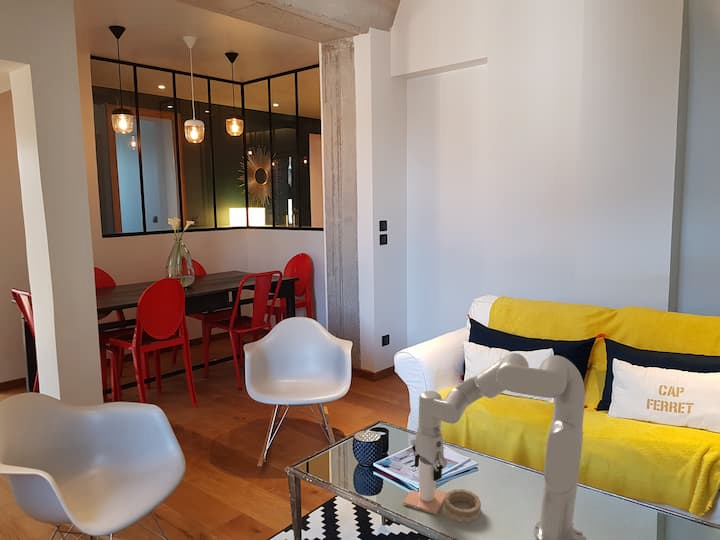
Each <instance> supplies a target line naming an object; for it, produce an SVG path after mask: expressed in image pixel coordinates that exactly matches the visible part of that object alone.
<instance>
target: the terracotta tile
mask: <svg viewBox="0 0 720 540" xmlns="http://www.w3.org/2000/svg"><path fill="white" fill-rule="evenodd" d="M447 493H448V492H447V491H444V490H440V489H437V488H435V497H434V499H433V500H432V501H429V502H426V501H423V500H421V499H420V497H419V492H416V491H414V490H411V489H410V491H409V492H408V493H407V495H406V497H405V499H404V500H403V503H402V504H406V505H410V506H412V507H411V508H413V507H416V508H418V509H417V510H419V509H421V510H420V511H422V510H424V512H426V513H429V512H430V514H432V513H433V514H432V515H435V514H436V515H438V513H439V512H440V509H441V507H442V506H443V505H444V498H445V496H446V494H447ZM406 505H405V506H406ZM416 508H415V509H416Z"/></svg>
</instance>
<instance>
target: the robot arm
mask: <svg viewBox="0 0 720 540" xmlns="http://www.w3.org/2000/svg"><path fill="white" fill-rule="evenodd" d="M529 365H530V364H529V363H528V361H527V358H526V357H524V355H522V354H520V353H516V352H513V353H512V352H511V353H509V354H507V355H505V356H504V357H502V358H500V359H499V360H498V361H496V362H494V363H493V364H492V365H490V366H489V367H487V368H486V369H484V370H483V371H481V372H480V373H478V374H477V375H474V376H472V377H470V378H468V379H466V380H464V381H463V382H461V383H460V384H458V385H457V386H455V387H454V388H452V389H451V390H450V391H449V392H448V393H447V394H446V396H445V398H443V396H442V395H441V393H439V392H438V391H433V390H425V391H423V392H421V393H420V395H419V397H418V398H419V399H418V421H417V422H418V424H417V425H418V427H417V430H416V434H415V438H414V439H411V440H410V443H411V449H412V451H413V456H414V467H415V468H418V466H419V458H420V456H421V457H423V458H424V459H426V460H427V461H429V462H430V463H432V464H433V466H434V468H435V470H434V475H433V480H434V481H436V482H437V481H439V480H441V479H442V474H443V472H442V471H443V470H444V468H446V467H447V465H448V461H447V460H446V458H445V457H444V456H445V453H444V449H445V448H444V439H443V433H442V430H441V427H442V422H444V423H447V424H450V425H453V424H456V423H458V422H459V421H460V420H461V419H462V417H463V415H464V413H465V411H466V409H467V408H468V407H469V406H470V405H472V404H473V403H475V402H476V401H478V400H479V399H481V398H483V397H484V398H488V399H494V398H496V397H497V396H499V395H500V394H502V393H503V392H505V391H507V392H510V393H515V394H521V395H527V396H532V397H533V396H534V397H540V398H545V399H554V401H553V414H552V420H551V424H550V426H549V430H548V435H547V439H546V440H547V441H546V449H545V458H544V469H543V470H544V471H543V477H544V486H543V492H542V493H543V494H542V501H541V511H540V521H538V522H537V523H536V524H535V525H534V528H533V533H534V536H535V538H536V539H537V540H587V536H585V535H583V533H584V531H582V530H578V529H576V528H574V522H573V521H574V512H575V506H576V505H575V504H576V498H577V491H578V484H579V483H578V482H579V476H580V467H581V461H582V460H581V458H582V452H583V451H582V450H583V439H584V430H583V428H584V426H583V425H584V416H585V415H584V414H585V400H586V399H585V398H586V390H585V383H584V379H583V376H582V375H581V372H580V371H579V369H578V368H577V367H576V365H575V364H574V363H573V362H572V361H571V360H569V359H568V358H566V357H565V356H561V355H556V354H555V355H550V356H547V357H545V359H543V361H542V362H541V364H540V366H539V368H534V367H530V366H529ZM436 459H437V461H436ZM437 462H438V467H437V464H436V463H437Z"/></svg>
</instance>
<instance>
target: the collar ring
mask: <svg viewBox="0 0 720 540" xmlns="http://www.w3.org/2000/svg"><path fill="white" fill-rule="evenodd" d="M455 502H456V503H459V502H461V503H465V504H469V505H470V506H471V507H472V508H470V509H469V508H467V509H462V508H459V507H455V506H454V505H453V503H455ZM481 506H482V503H481V499H480V498H479V496H478V495H477V494H475V493H474V492H472V491H469V490H466V489H463V488H462V489H461V488H459V489H452V490H450V491H448V492H447V494H446V496H445V498H444V502H443V510H444V511H443V512H444V514H445V515H446V516H447V517H448V518H450V519H451V520H453V521H455V522H459V523H472V522H474V521H476V520H478V519H479V517H480V514H481V508H482V507H481Z"/></svg>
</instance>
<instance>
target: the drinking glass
mask: <svg viewBox="0 0 720 540" xmlns="http://www.w3.org/2000/svg"><path fill="white" fill-rule="evenodd" d="M436 461H437V459H436ZM436 464H437V467H438V466H439V464H438V462H437V463H436ZM417 468H418V469H417V470H418V484H419V497H420V499H421V500H423V501H426V502H429V501H432V500H433V499H434V497H435V489H437V481H434V480H433V475H434V470H435V468H434V466H433V464H432V463H430V462H429V461H427V460H426V459H424V458H423V457H421V456H420V458H419V466H418V467H417Z"/></svg>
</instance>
